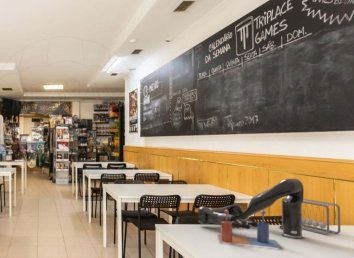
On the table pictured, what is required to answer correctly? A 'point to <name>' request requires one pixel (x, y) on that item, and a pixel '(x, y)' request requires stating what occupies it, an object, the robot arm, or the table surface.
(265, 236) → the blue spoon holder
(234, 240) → the sorting board
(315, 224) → the newton's cradle
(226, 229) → the terracotta spoon holder
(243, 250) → the table surface
